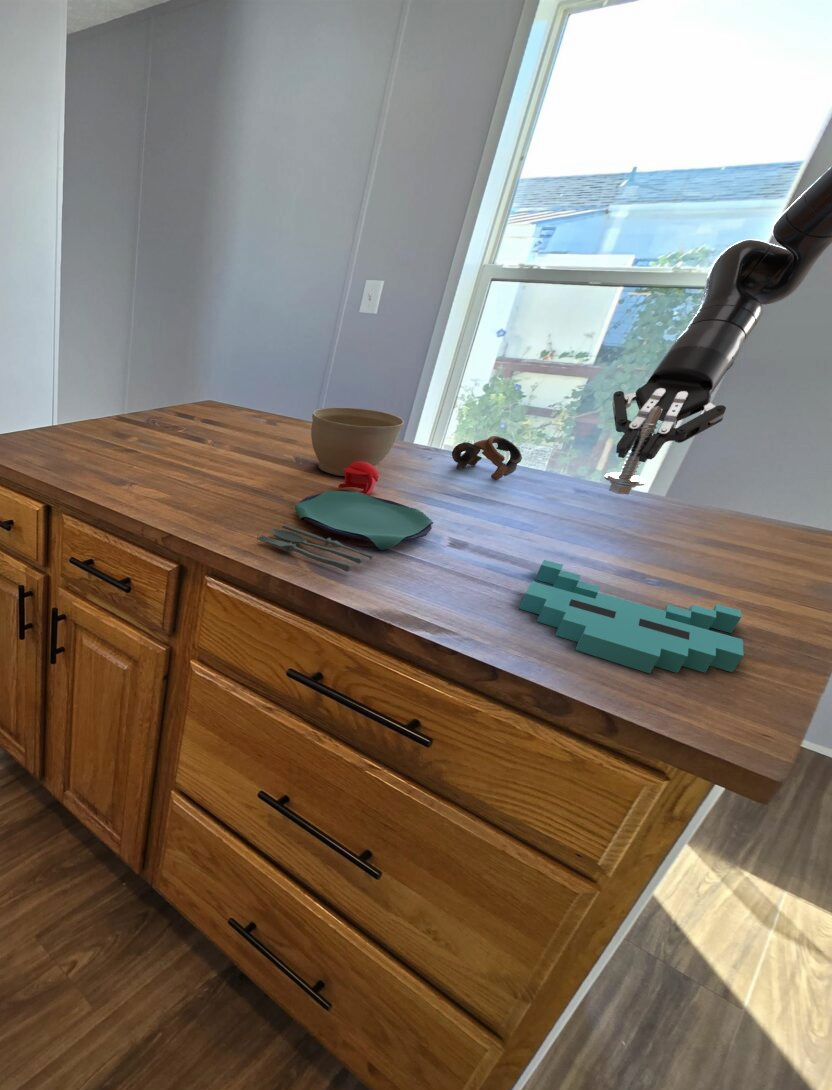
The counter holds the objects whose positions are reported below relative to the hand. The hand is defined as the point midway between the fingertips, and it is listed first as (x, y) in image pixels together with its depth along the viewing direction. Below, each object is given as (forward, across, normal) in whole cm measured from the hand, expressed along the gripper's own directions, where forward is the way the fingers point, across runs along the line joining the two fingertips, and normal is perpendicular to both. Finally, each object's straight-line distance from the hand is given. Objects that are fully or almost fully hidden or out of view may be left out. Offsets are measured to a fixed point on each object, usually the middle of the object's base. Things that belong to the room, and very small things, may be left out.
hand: (632, 456), depth 97 cm
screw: (+3, 0, +6) cm, 6 cm away
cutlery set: (+31, -24, -13) cm, 41 cm away
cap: (+18, -33, 0) cm, 38 cm away
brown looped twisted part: (-4, -26, +23) cm, 35 cm away
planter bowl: (+11, -42, +8) cm, 44 cm away
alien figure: (+30, +12, -11) cm, 34 cm away
